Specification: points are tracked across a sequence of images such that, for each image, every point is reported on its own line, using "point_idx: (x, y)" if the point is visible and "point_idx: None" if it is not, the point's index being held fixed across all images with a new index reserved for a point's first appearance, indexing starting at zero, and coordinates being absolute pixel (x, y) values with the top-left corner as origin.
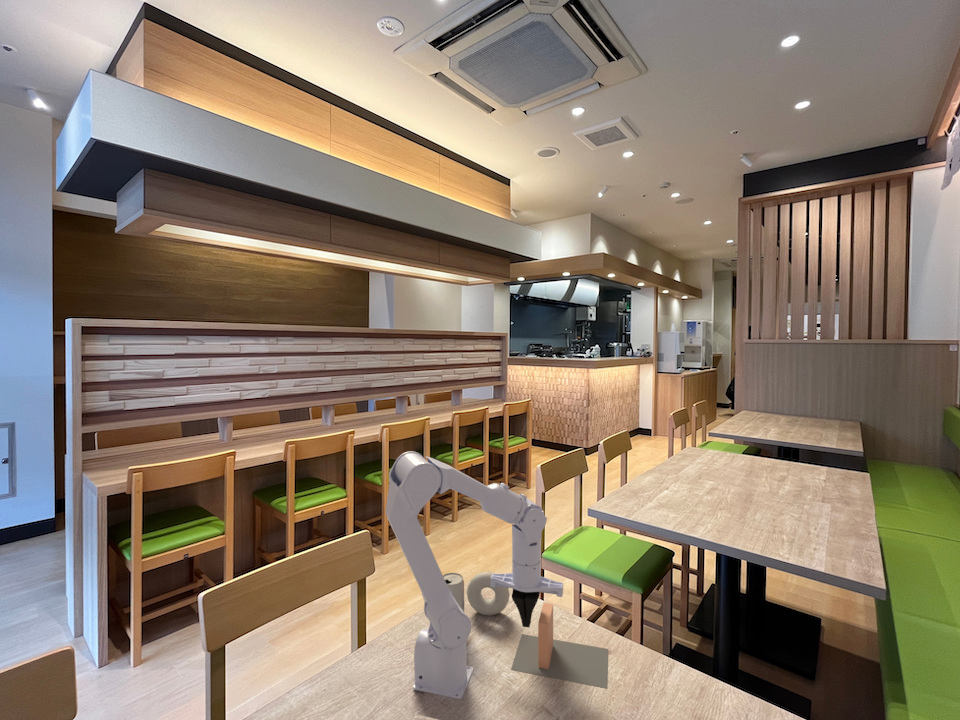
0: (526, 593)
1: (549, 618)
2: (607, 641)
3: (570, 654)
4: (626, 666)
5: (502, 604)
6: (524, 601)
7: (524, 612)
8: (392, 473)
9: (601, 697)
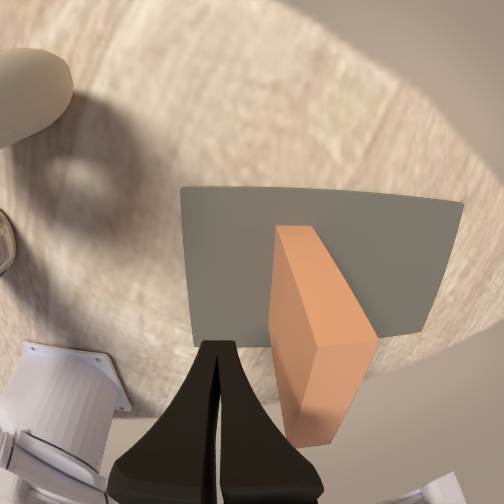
0: (209, 477)
1: (338, 424)
2: (466, 160)
3: (366, 254)
4: (476, 249)
5: (51, 119)
6: (214, 486)
7: (214, 436)
8: None
9: (402, 346)
